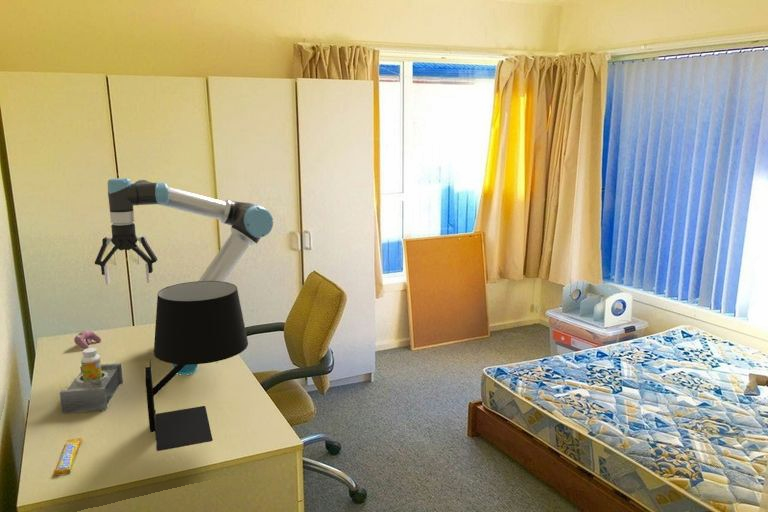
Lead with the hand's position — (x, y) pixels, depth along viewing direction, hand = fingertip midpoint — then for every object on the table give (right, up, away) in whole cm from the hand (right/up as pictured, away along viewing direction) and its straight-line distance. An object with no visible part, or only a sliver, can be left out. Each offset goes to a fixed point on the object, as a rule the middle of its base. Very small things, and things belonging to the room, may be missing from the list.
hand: (128, 282), depth 206 cm
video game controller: (-27, -26, +25) cm, 45 cm away
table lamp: (+38, -39, -36) cm, 65 cm away
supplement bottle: (-2, -30, -21) cm, 36 cm away
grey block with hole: (-2, -36, -20) cm, 41 cm away
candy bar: (+8, -44, -54) cm, 70 cm away
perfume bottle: (+21, -32, 0) cm, 38 cm away
